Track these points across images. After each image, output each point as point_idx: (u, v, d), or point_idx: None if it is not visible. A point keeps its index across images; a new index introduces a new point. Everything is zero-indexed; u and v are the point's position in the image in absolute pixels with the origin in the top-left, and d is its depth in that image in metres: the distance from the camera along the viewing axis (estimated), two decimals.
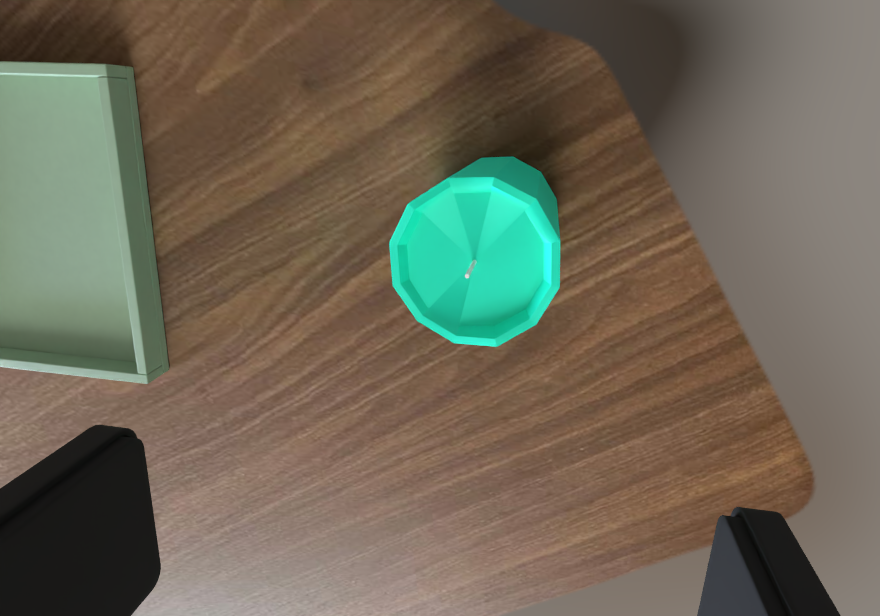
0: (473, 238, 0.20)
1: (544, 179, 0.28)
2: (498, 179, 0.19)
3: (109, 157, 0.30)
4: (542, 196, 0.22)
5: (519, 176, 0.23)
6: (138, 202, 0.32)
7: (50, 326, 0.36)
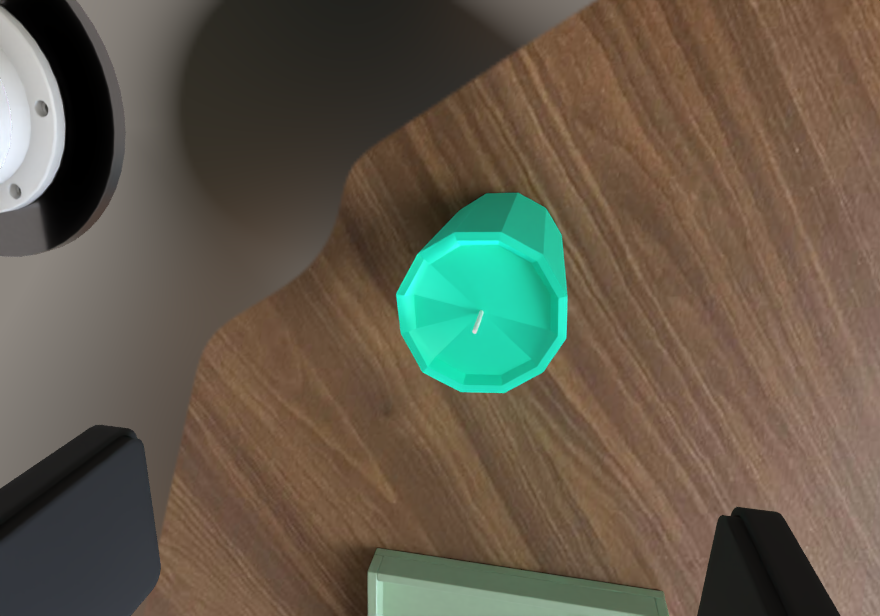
0: (458, 312, 0.21)
1: (464, 208, 0.29)
2: (399, 289, 0.21)
3: (440, 589, 0.35)
4: (439, 233, 0.23)
5: None
6: (485, 575, 0.35)
7: None
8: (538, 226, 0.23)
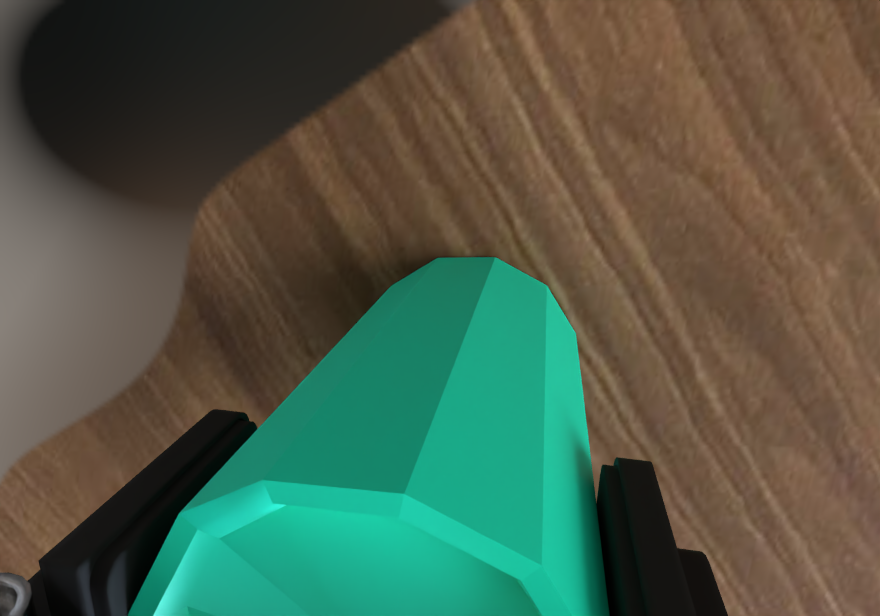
0: None
1: (395, 285, 0.16)
2: (136, 604, 0.07)
3: None
4: (294, 396, 0.10)
5: None
6: None
7: None
8: (530, 371, 0.10)
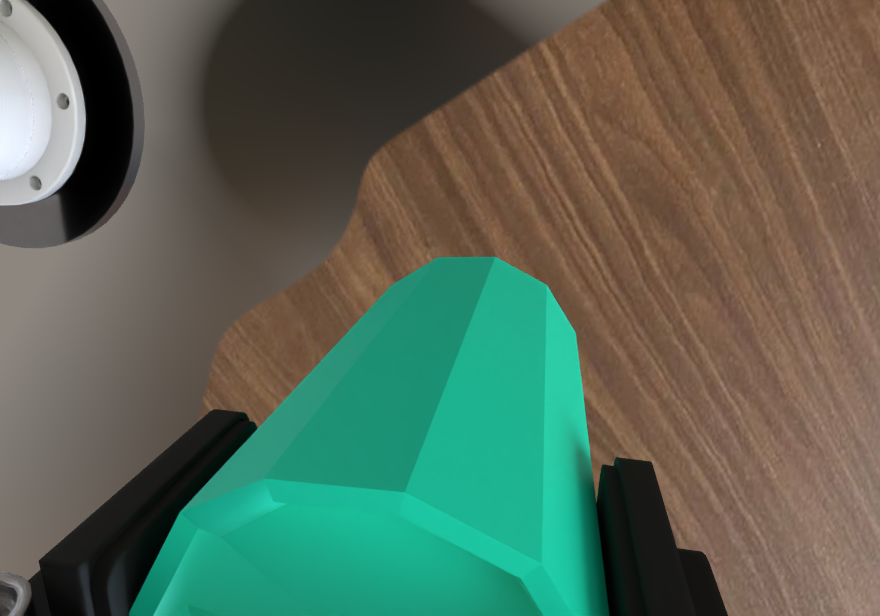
0: None
1: (395, 285, 0.16)
2: (137, 603, 0.07)
3: None
4: (295, 396, 0.10)
5: None
6: None
7: None
8: (530, 371, 0.10)
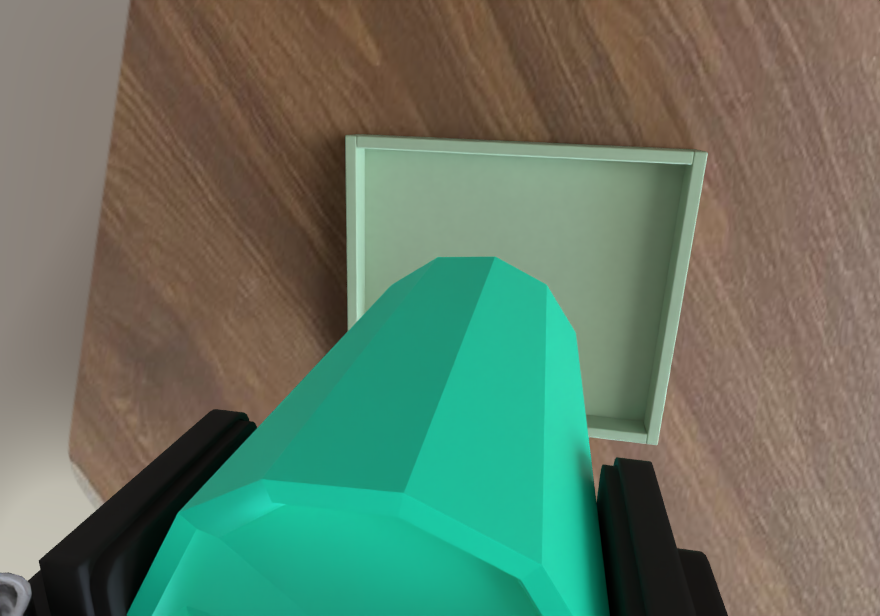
0: None
1: (395, 285, 0.16)
2: (135, 604, 0.07)
3: (432, 149, 0.29)
4: (294, 396, 0.10)
5: None
6: (484, 140, 0.30)
7: (628, 290, 0.31)
8: (530, 371, 0.10)
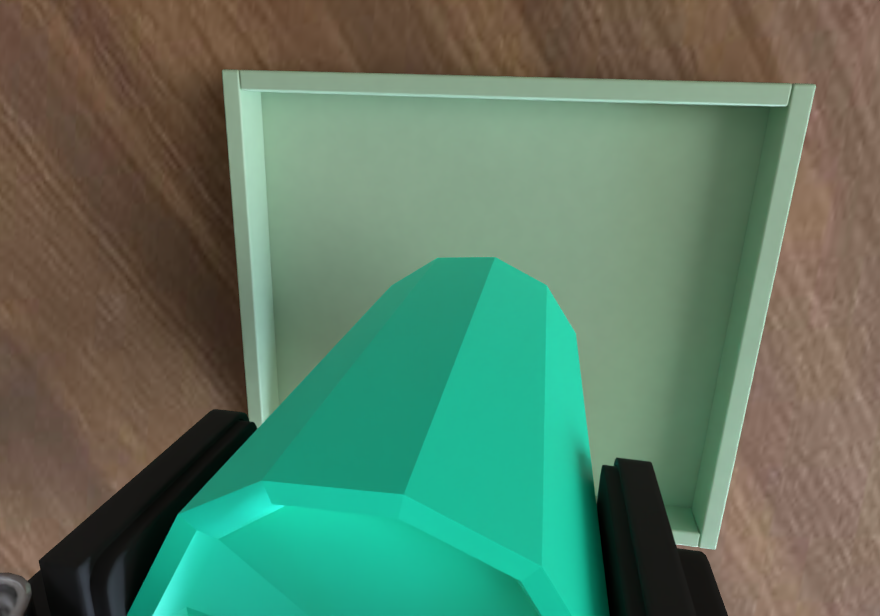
0: None
1: (395, 285, 0.16)
2: (135, 605, 0.07)
3: (358, 89, 0.18)
4: (294, 397, 0.10)
5: None
6: None
7: (672, 314, 0.20)
8: (530, 372, 0.10)
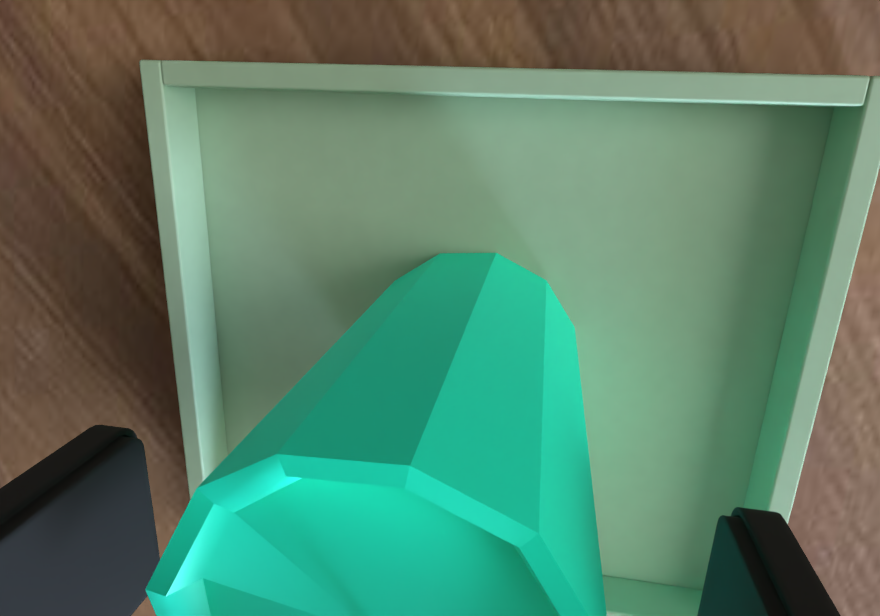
0: None
1: (399, 280, 0.16)
2: (155, 575, 0.08)
3: (308, 84, 0.14)
4: (303, 383, 0.10)
5: None
6: None
7: (703, 363, 0.16)
8: (530, 360, 0.10)
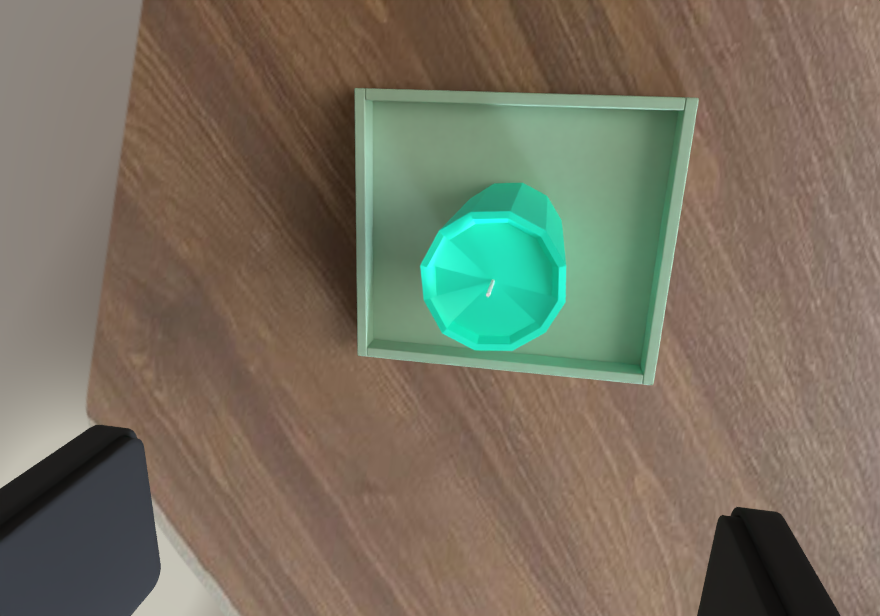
0: (473, 281, 0.24)
1: (474, 196, 0.33)
2: (422, 261, 0.24)
3: (437, 99, 0.31)
4: (455, 215, 0.26)
5: None
6: None
7: (624, 237, 0.33)
8: (541, 209, 0.27)
